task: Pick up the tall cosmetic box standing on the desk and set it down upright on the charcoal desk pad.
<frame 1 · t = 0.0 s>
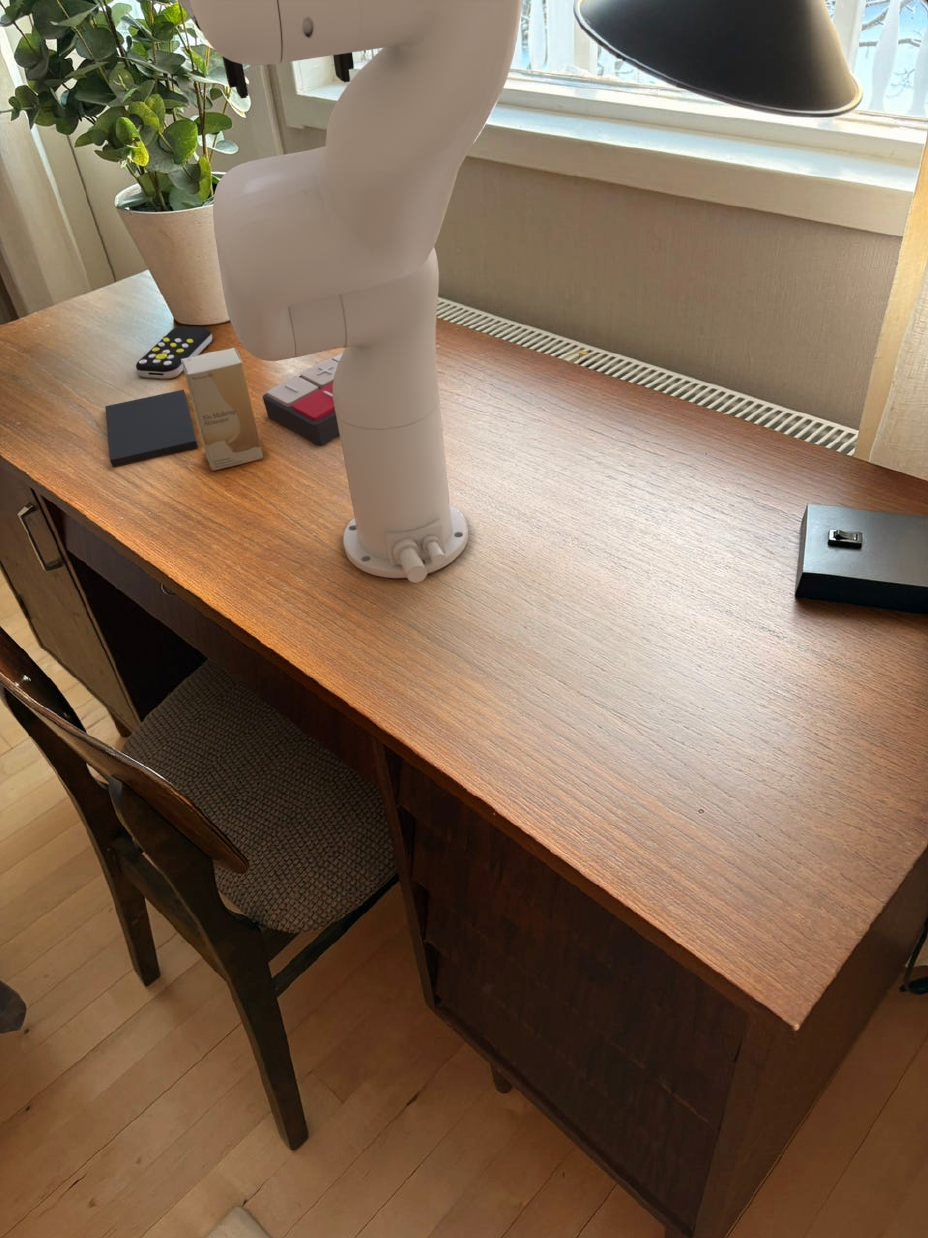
hand: (293, 86, 88), 37 cm above the table, tool pointing down, fingers open, 9 cm apart
cosmetic box: (236, 458, 110), on the table
calculator: (341, 408, 117), on the table
remote control: (177, 359, 131), on the table
desk pad: (151, 429, 116), on the table
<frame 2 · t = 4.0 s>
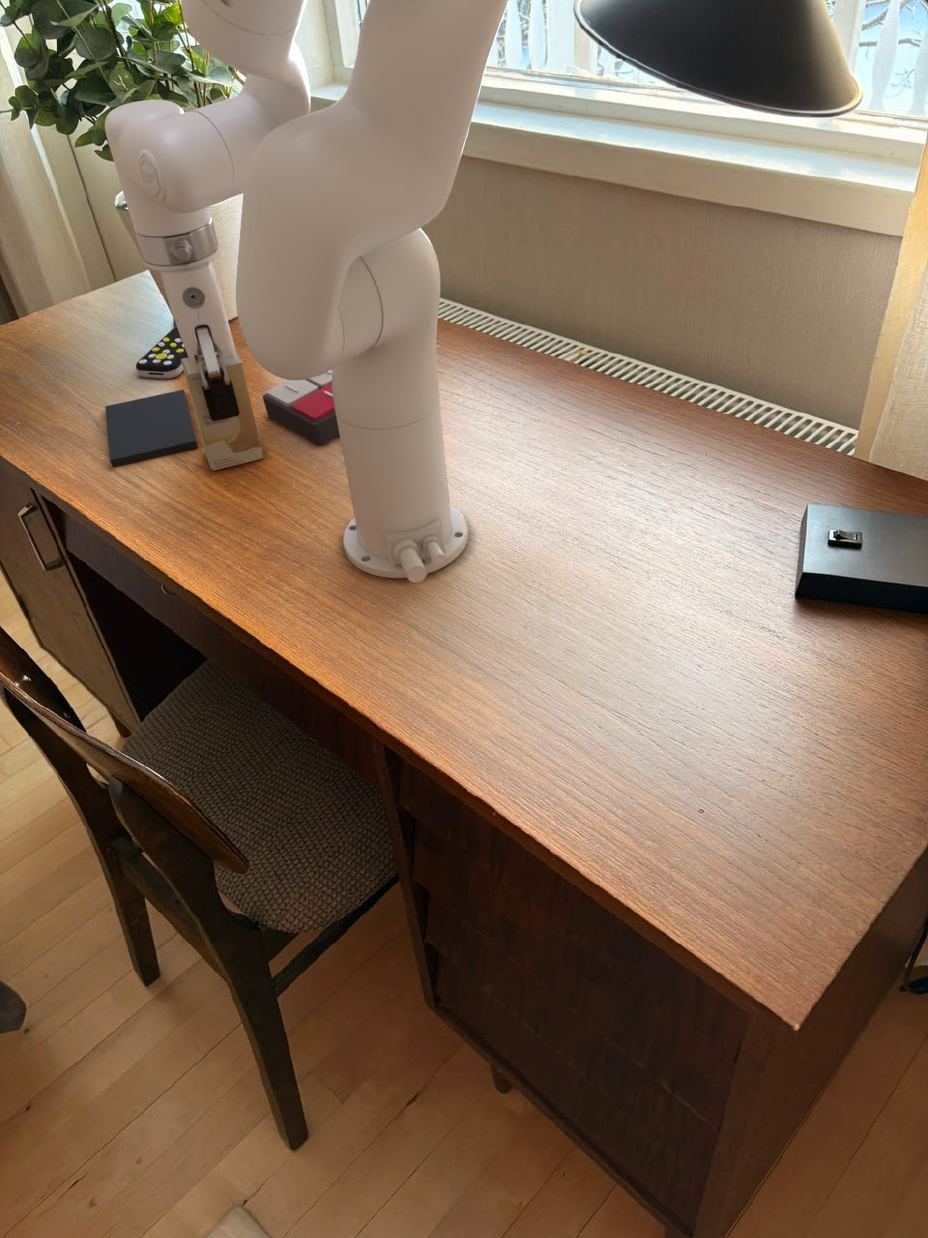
hand: (222, 404, 106), 7 cm above the table, tool pointing down, fingers closed on cosmetic box, 4 cm apart
cosmetic box: (236, 458, 110), on the table, touching gripper
everything else where it was.
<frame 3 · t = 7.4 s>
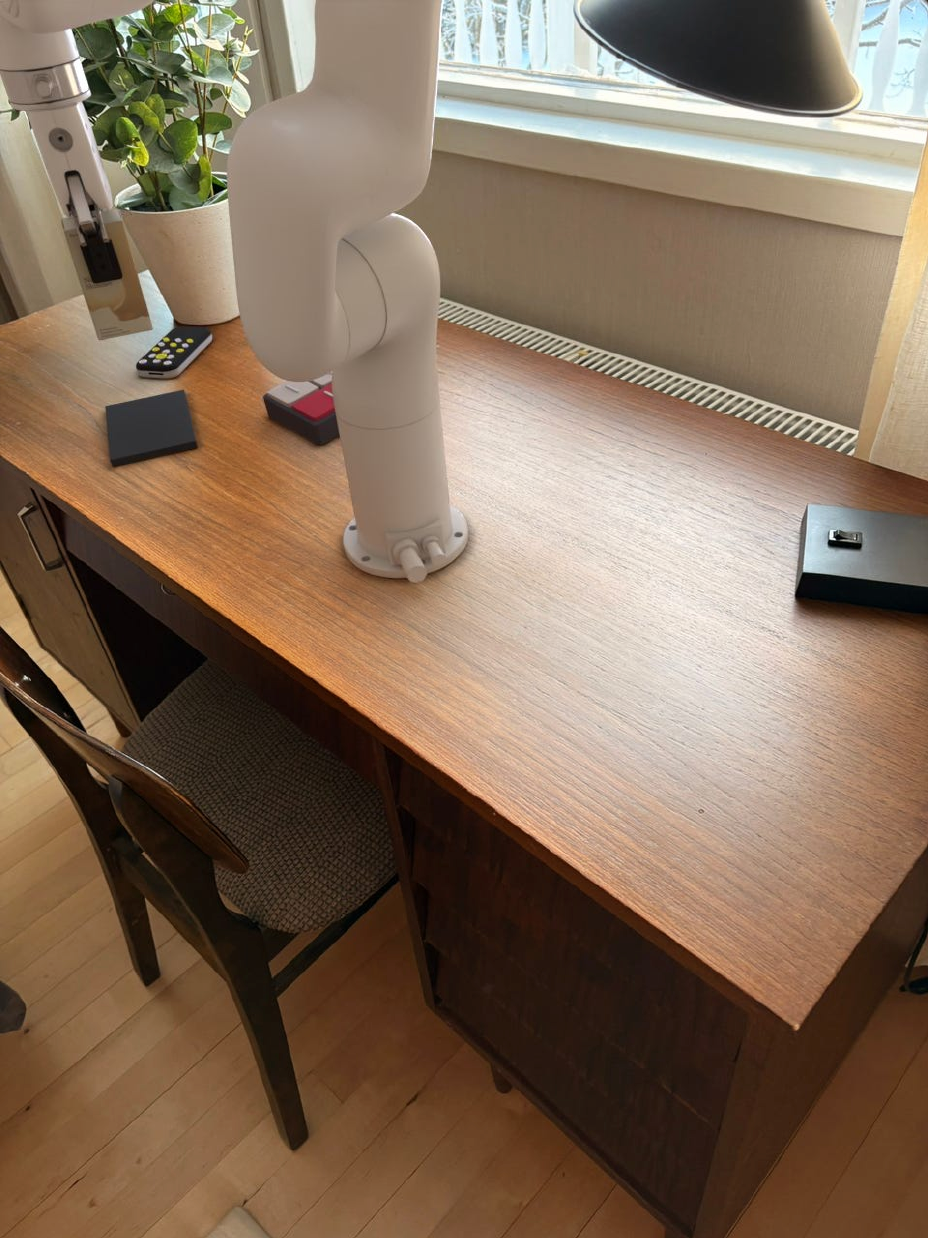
hand: (106, 269, 102), 20 cm above the table, tool pointing down, fingers closed on cosmetic box, 4 cm apart
cosmetic box: (126, 330, 107), point 13 cm above the table, touching gripper
everything else where it was.
when the fingers open (8 cm above the table, at t = 10.5 s): cosmetic box stays where it is, resting on desk pad.
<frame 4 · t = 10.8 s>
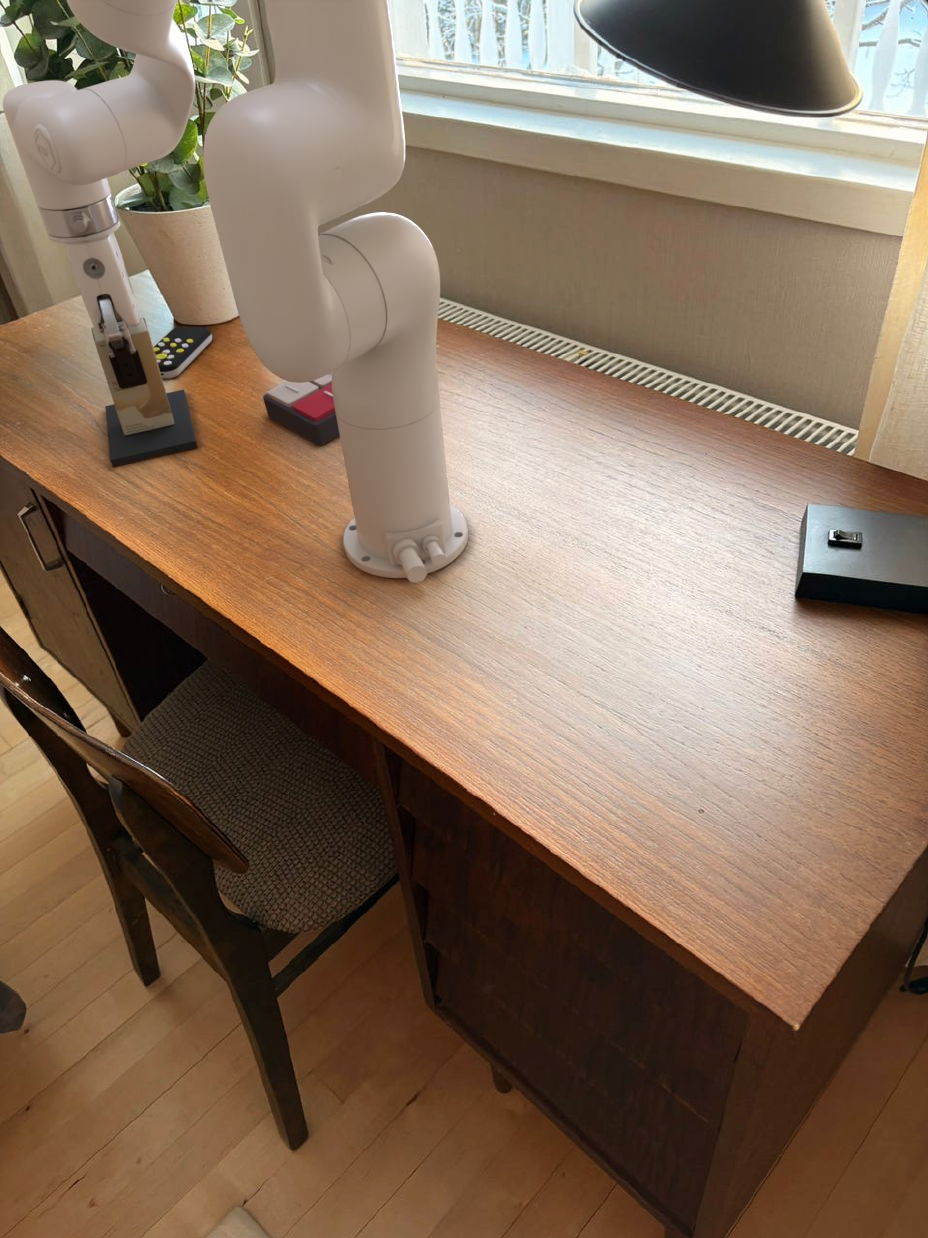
hand: (131, 370, 111), 8 cm above the table, tool pointing down, fingers open, 6 cm apart
cosmetic box: (149, 424, 116), point 1 cm above the table, touching desk pad
everything else where it was.
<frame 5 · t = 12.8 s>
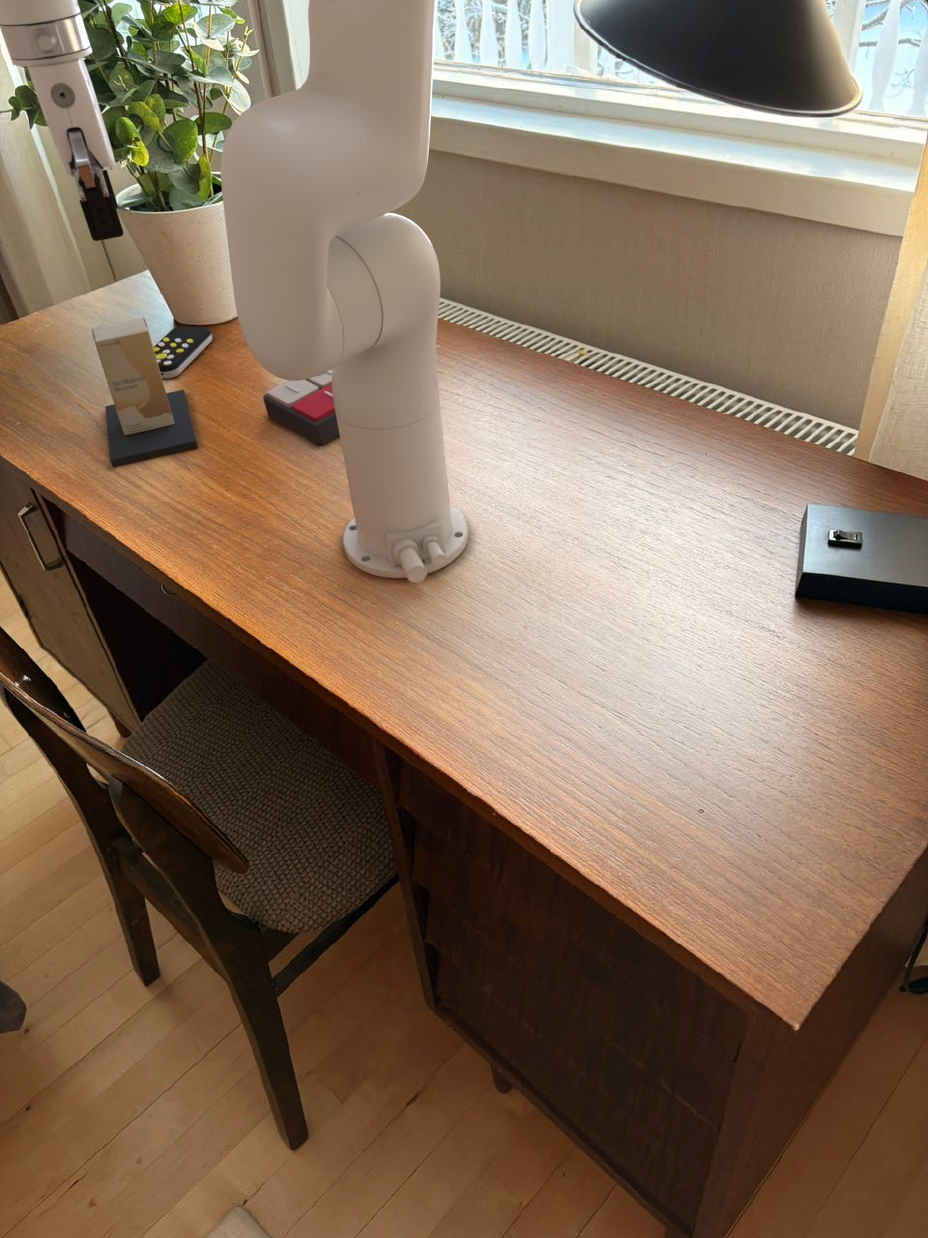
hand: (106, 223, 101), 24 cm above the table, tool pointing down, fingers open, 9 cm apart
nothing on the table moved.
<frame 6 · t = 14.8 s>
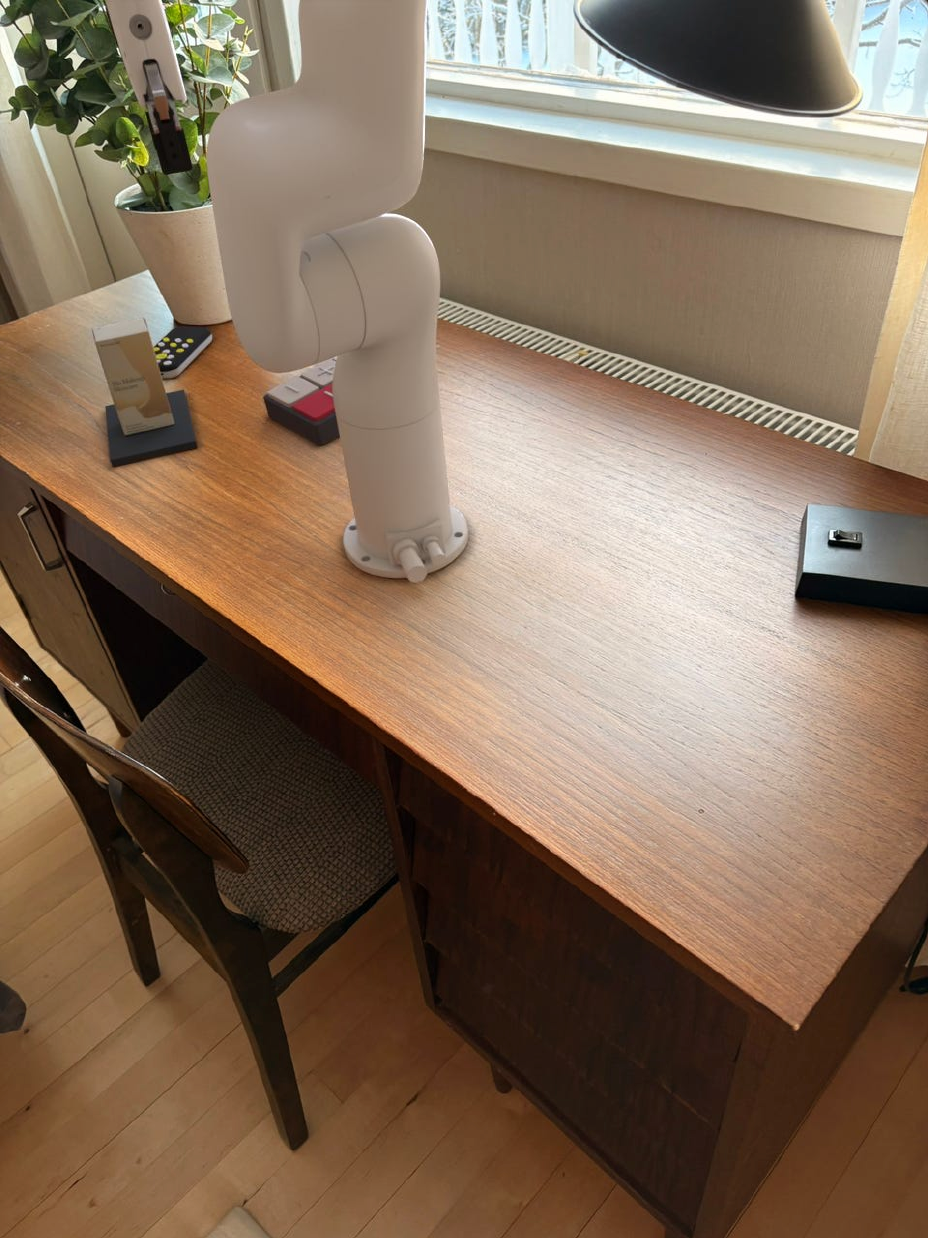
hand: (173, 159, 103), 28 cm above the table, tool pointing down, fingers open, 9 cm apart
nothing on the table moved.
at the end: cosmetic box inside the target area on the desk pad (0.1 cm from its centre), point 0.8 cm above the desk pad's base; cosmetic box tilted 0°; the gripper is holding nothing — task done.
